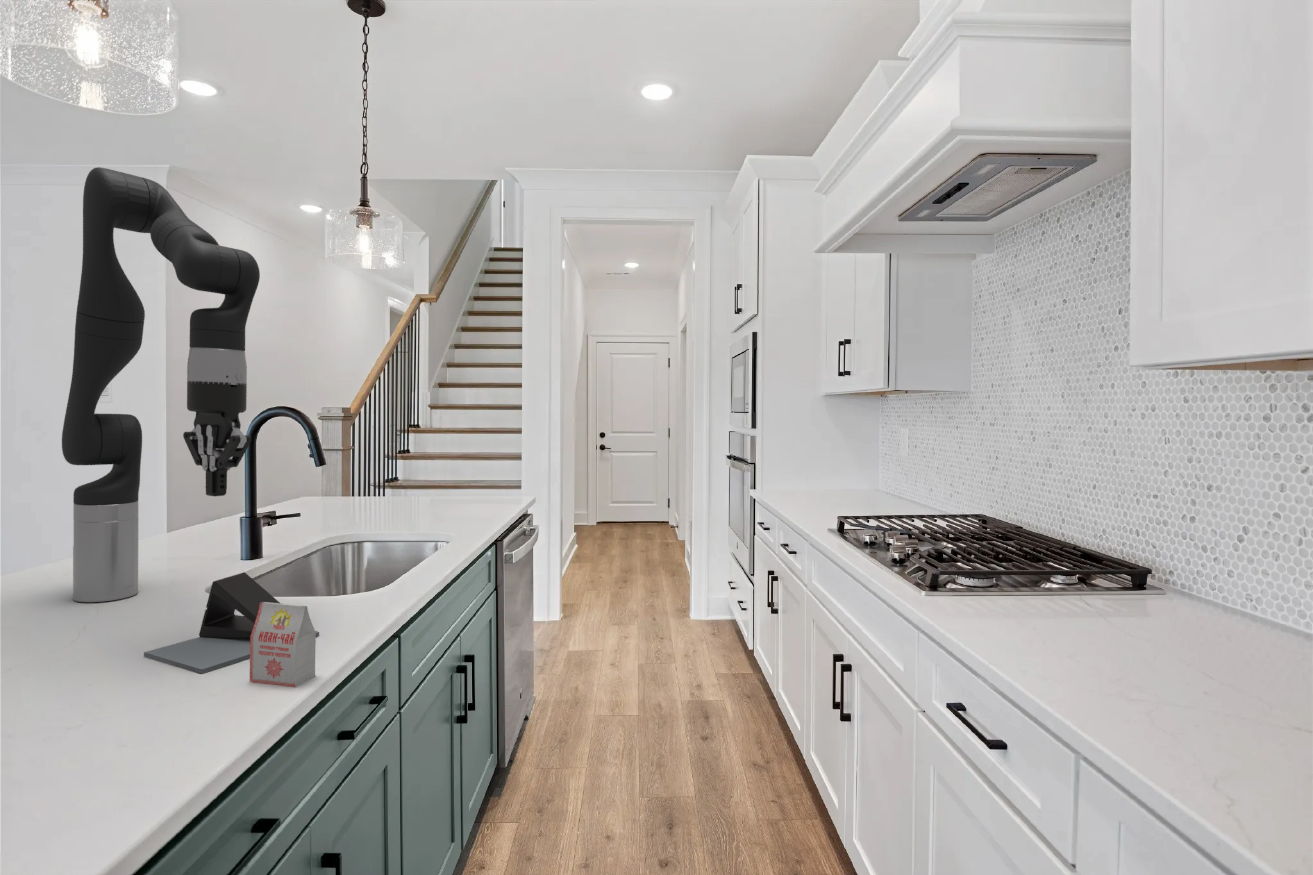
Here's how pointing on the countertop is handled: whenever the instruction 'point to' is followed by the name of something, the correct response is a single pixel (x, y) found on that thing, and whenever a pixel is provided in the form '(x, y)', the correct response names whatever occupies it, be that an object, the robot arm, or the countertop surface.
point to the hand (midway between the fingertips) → (216, 495)
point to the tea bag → (282, 645)
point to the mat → (204, 653)
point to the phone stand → (233, 607)
